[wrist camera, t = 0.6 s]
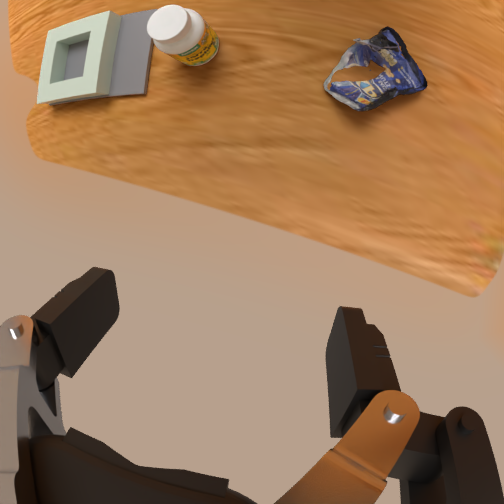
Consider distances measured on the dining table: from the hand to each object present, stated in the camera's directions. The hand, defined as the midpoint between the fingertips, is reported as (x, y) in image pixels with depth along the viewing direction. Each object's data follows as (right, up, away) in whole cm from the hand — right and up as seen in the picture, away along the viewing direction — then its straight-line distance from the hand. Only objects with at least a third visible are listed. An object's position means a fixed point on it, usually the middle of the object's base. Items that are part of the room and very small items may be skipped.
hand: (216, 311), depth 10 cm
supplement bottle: (-5, +26, +18) cm, 32 cm away
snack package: (+15, +23, +17) cm, 32 cm away
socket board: (-19, +28, +19) cm, 39 cm away
